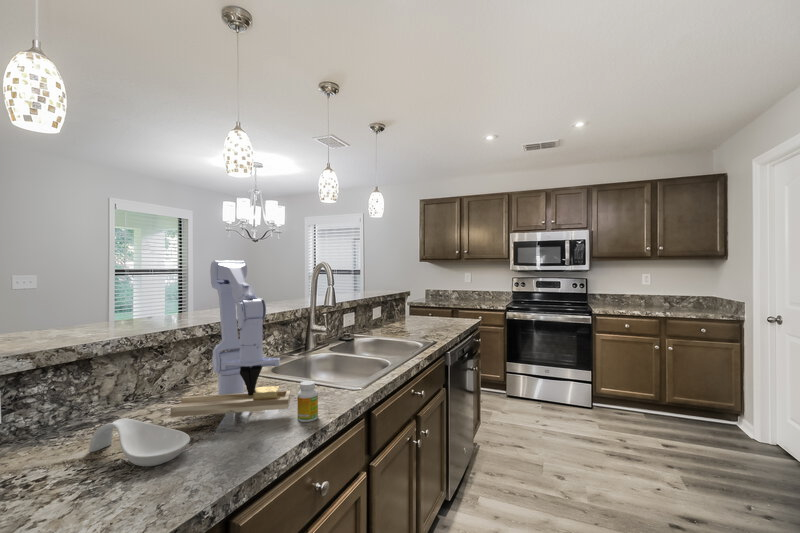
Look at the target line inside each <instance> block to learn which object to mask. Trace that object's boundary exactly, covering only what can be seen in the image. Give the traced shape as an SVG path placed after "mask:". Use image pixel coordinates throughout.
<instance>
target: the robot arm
mask: <svg viewBox="0 0 800 533" xmlns="http://www.w3.org/2000/svg"><path fill="white" fill-rule="evenodd" d="M209 272H210V284H211V287H212V289H215V290H217V294H218V300H219V302H218V303H219V318H220V328H221V329H220V331H221V341H220V342H219V343H218V344H217V345H215V347H214V348H213V350H212V359H211V361H212V362H211V363H212V364H211V365H212V370H213V372H214V373H215V374H218V377H217V378H218V379H217V380H218V381H217V382H218V383H217V385H218V387H217V389H218V390H217V395H220V394H236V393H248V396H251V395H253V393H254V391H255V389H256V387H257V382H258V380H259V376H260V373H261V372H262V370H263V367H276V368H277V367H280V364H281V362H280V360H281V357H263V355H264V354H263V353H264V352H263V350H264V349H263V345H264V344H263V334H264V332H263V323H264V322H263V320H264V319H265V318H266V315H267V314H266V313H267V305H266V302H265V300H264V298H261V297H258V296H257V294H256V291H255V290H254V287H253V286H252V285H251V284H250V283H247V281H246V277H247V275H248V265H247V263H246V261H245V260H216V259H215V260H213V261H211V263H210V270H209ZM238 330H239V331H238ZM238 332H239V333H238ZM245 388H246V389H245ZM246 390H247V392H246Z"/></svg>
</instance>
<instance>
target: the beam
mask: <svg viewBox="0 0 800 533" xmlns="http://www.w3.org/2000/svg"><path fill="white" fill-rule="evenodd" d="M291 393H292V392H291V390H290V389H287V390H286V389H285V390H284V389H283V390H279V399H269V400H255V401H253V395H251V396H248V393H236V394H220V395H218V394H206V395H195V396H194V395H191V396H188V395H187V396H182V397H181V398H180V400H181V402H180V403H179V404H178V405H172V406H171V407H170V418H176V417H177V418H179V417H181V418H182V417H190V416H193V417H194V416H205V415H206V416H207V415H219V414H225V413H226V412H227V411H235V412H249V411H251V412H260V411H272V410H288V409H289V406H290V402H291V397H292V396H291Z"/></svg>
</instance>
